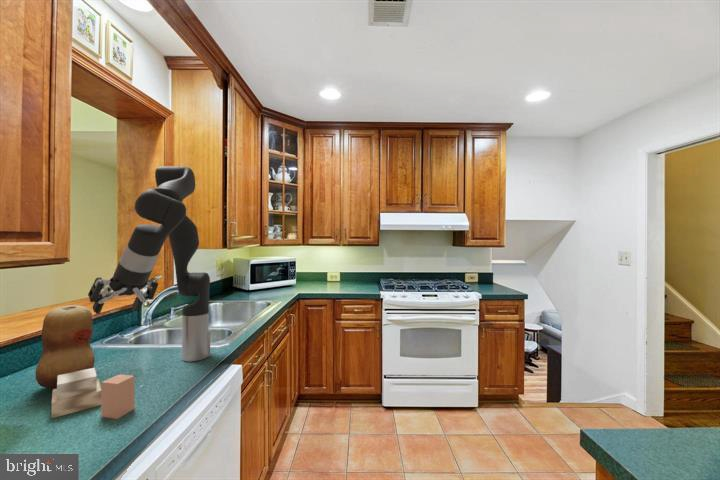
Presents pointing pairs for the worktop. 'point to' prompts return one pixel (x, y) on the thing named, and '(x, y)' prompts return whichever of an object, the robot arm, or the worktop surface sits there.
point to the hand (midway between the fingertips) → (116, 310)
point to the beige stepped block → (76, 392)
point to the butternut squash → (65, 344)
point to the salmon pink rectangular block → (117, 396)
